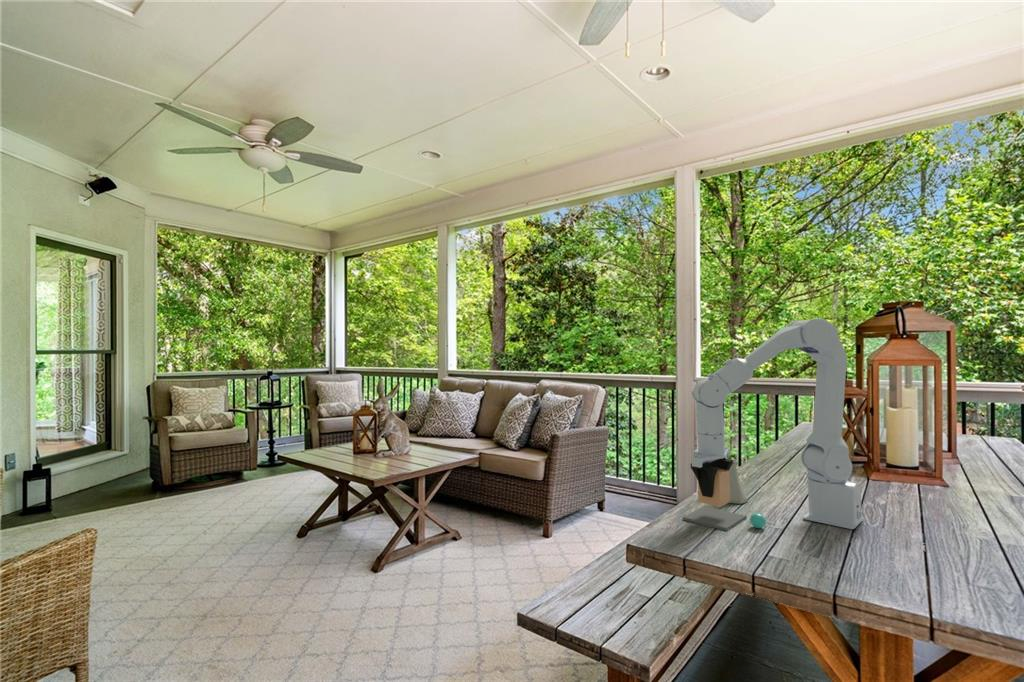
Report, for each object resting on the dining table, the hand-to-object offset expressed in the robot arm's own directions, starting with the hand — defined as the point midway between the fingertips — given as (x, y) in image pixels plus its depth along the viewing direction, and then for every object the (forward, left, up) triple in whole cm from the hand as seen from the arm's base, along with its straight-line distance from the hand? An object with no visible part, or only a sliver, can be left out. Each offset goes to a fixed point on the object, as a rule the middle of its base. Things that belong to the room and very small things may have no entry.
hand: (713, 493), depth 109 cm
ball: (-9, -1, -6) cm, 11 cm away
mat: (0, 0, -6) cm, 6 cm away
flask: (+3, -16, -6) cm, 17 cm away
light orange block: (0, 0, -2) cm, 2 cm away
